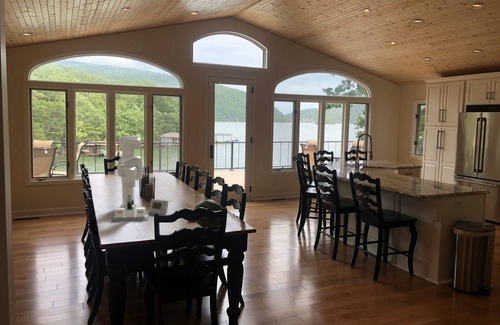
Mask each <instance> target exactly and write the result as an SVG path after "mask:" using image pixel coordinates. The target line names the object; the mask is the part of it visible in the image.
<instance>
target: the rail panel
mask: <svg viewBox="0 0 500 325" xmlns="http://www.w3.org/2000/svg"><path fill="white" fill-rule="evenodd" d="M114 213H115V215H114V216H113V218H112V219H111V222H136V221H137V222H140V221H141V222H142V221H143V222H144V221H148V219H149V216H150V214H146V207H144V206H143V207H142V206H140V207H136V208H135V217H126V208H123V207H116V208H115V211H114Z"/></svg>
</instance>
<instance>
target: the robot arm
mask: <svg viewBox="0 0 500 325" xmlns="http://www.w3.org/2000/svg"><path fill="white" fill-rule="evenodd" d="M117 143H118V144H119V147H120V150H121V157H119V159H118V161H117V164H116V165H117V166H116V169H117V173H116V174H117V176H119V177H120V179H121V188H122V189H121V192H122V195H121V197H122V199H121V200H122V204H120V208H125V209H126V206H127V209H132V205H135V207H137V204H136V203H135V188H136V181H140V180H142V179H143V159H142V157H141V156H138V155H135V150H140V149H142V143H143V142H142V140H141V137H140V136H137V135H129V136H128V135H127V136H126V135H125V136H122V135H121V136H120V137H118V142H117Z"/></svg>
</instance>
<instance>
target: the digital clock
mask: <svg viewBox="0 0 500 325" xmlns="http://www.w3.org/2000/svg"><path fill="white" fill-rule="evenodd" d="M149 204H150V205H149V209H148V213H149V214H150V213H151V214H154V213H159V214H158V215H161V214H162V215H165V216H166V214H167V212H168V208H169V207H168V206H169V200H164V199H155V198H151V200H150V203H149Z"/></svg>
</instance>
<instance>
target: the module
mask: <svg viewBox="0 0 500 325" xmlns="http://www.w3.org/2000/svg"><path fill="white" fill-rule="evenodd" d="M125 215H126V217H135V215H136V206H135V205H132V209H127V206H126V208H125Z"/></svg>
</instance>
